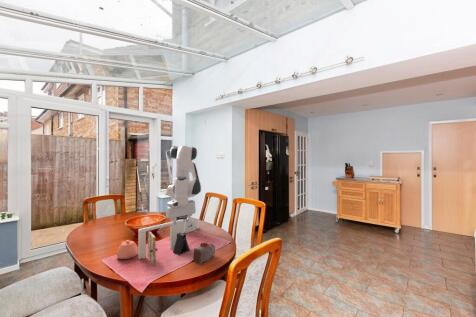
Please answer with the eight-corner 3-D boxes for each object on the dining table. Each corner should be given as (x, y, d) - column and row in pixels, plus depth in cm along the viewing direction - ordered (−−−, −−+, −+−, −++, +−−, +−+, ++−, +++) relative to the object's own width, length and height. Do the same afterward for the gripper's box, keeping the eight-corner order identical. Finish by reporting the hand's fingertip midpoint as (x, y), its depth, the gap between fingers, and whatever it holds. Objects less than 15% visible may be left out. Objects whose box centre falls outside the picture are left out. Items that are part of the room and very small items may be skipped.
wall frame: (182, 244, 157) (182, 219, 157) (183, 245, 156) (183, 219, 155) (138, 258, 135) (138, 229, 135) (139, 259, 134) (139, 229, 134)
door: (145, 256, 137) (145, 231, 137) (152, 255, 139) (152, 230, 139) (150, 265, 126) (150, 238, 126) (157, 264, 128) (158, 236, 128)
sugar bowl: (123, 263, 130) (123, 245, 129) (110, 257, 137) (110, 241, 137) (142, 255, 140) (142, 239, 140) (129, 250, 147) (129, 235, 147)
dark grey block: (206, 253, 143) (206, 238, 143) (216, 256, 139) (216, 240, 139) (191, 262, 131) (191, 245, 131) (202, 265, 127) (202, 248, 127)
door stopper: (178, 255, 140) (178, 236, 140) (172, 253, 143) (172, 234, 143) (189, 250, 147) (189, 232, 147) (183, 248, 151) (183, 230, 150)
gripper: (192, 198, 154) (192, 218, 154) (164, 203, 140) (164, 224, 140) (197, 200, 150) (197, 220, 150) (169, 204, 136) (169, 227, 136)
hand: (181, 222), depth 145 cm, fingers open, 8 cm apart
